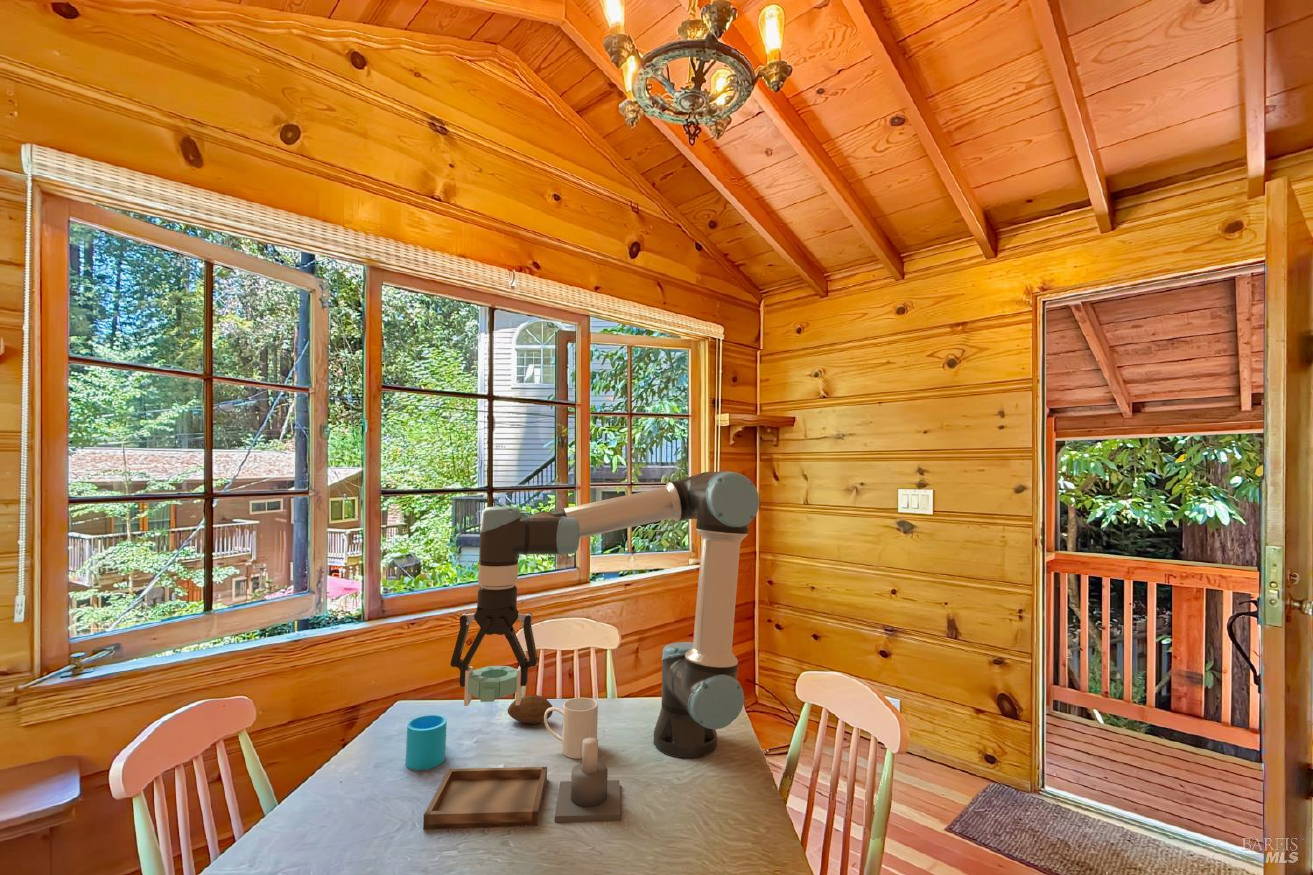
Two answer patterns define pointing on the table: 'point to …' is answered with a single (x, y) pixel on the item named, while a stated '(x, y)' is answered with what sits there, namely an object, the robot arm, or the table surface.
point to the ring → (492, 682)
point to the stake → (588, 790)
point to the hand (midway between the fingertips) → (493, 702)
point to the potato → (530, 709)
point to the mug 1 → (426, 742)
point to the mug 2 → (576, 724)
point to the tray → (487, 798)
